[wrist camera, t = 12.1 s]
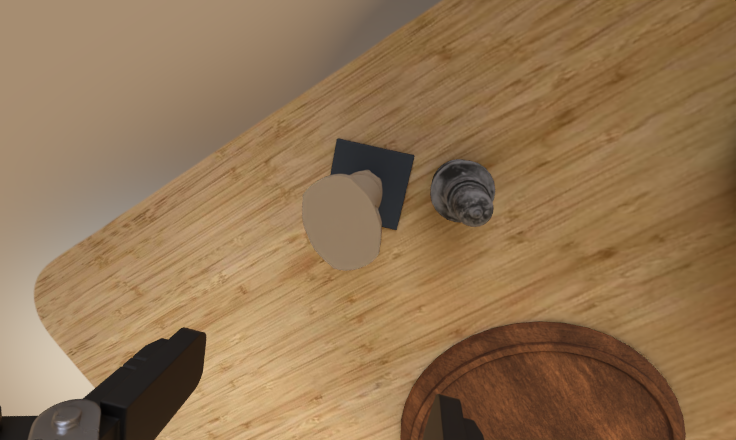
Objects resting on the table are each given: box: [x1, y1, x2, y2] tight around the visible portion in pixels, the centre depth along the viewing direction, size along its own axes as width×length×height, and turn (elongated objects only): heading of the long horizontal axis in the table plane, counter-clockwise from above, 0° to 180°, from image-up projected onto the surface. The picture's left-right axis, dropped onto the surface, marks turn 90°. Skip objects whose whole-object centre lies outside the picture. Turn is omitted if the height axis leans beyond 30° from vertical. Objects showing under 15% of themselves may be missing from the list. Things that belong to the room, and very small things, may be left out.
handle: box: [302, 170, 382, 271], centre depth 32 cm, size 5×6×15 cm
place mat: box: [331, 139, 414, 230], centre depth 39 cm, size 8×8×1 cm
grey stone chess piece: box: [430, 159, 495, 227], centre depth 32 cm, size 6×6×12 cm
